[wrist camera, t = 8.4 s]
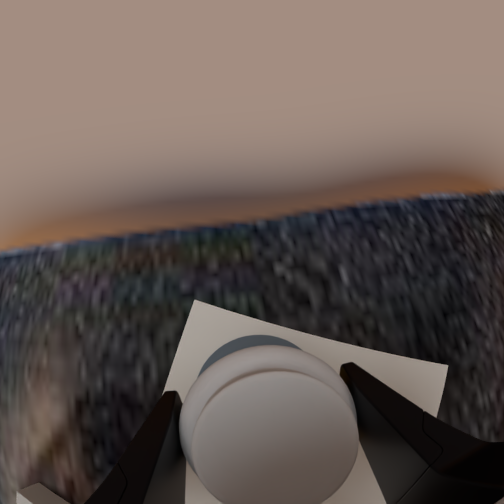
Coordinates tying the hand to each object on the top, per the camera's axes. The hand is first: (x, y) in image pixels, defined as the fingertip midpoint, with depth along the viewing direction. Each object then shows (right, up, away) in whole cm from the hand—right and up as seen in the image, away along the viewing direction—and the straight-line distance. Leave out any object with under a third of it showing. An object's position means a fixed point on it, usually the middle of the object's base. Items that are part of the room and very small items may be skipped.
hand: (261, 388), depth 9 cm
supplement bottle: (0, -4, +6) cm, 7 cm away
